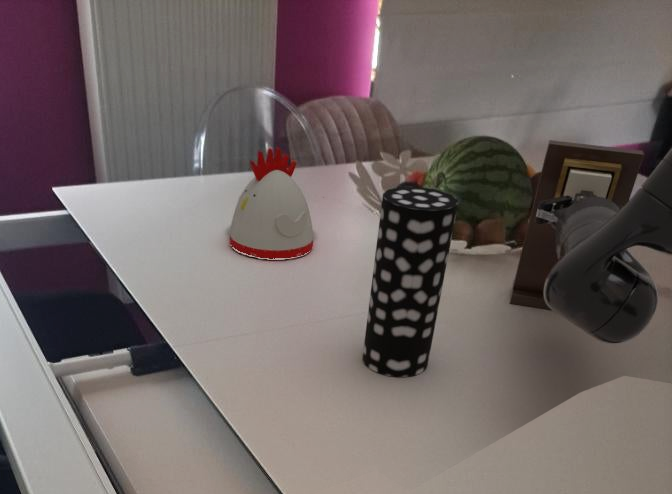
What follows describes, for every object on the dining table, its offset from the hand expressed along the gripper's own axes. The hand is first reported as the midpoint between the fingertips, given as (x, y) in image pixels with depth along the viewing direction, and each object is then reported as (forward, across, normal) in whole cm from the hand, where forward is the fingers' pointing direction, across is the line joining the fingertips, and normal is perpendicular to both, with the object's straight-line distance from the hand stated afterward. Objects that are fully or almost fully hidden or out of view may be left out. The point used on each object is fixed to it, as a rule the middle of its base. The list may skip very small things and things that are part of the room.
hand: (584, 198), depth 98 cm
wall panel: (+4, 0, +16) cm, 16 cm away
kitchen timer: (+10, +46, +16) cm, 49 cm away
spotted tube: (-23, +20, +16) cm, 34 cm away
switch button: (+1, 0, +3) cm, 3 cm away
